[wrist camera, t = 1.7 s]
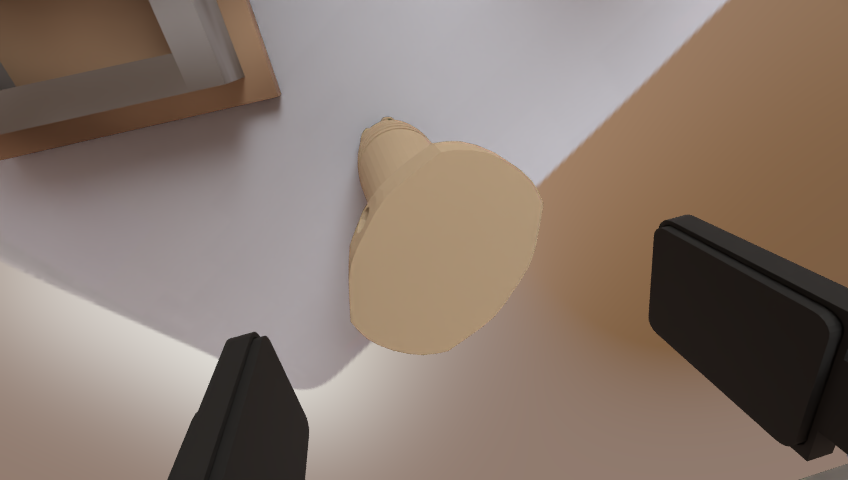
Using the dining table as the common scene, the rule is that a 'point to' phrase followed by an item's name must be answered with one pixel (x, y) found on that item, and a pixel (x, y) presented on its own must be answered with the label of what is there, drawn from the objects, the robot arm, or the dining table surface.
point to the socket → (122, 66)
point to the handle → (436, 238)
